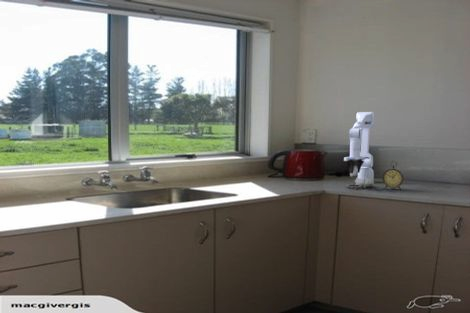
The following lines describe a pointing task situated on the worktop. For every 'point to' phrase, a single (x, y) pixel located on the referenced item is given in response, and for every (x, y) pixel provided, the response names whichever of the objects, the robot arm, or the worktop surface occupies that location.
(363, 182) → the duct socket
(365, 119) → the robot arm
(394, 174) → the alarm clock
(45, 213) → the worktop surface
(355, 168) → the collar
